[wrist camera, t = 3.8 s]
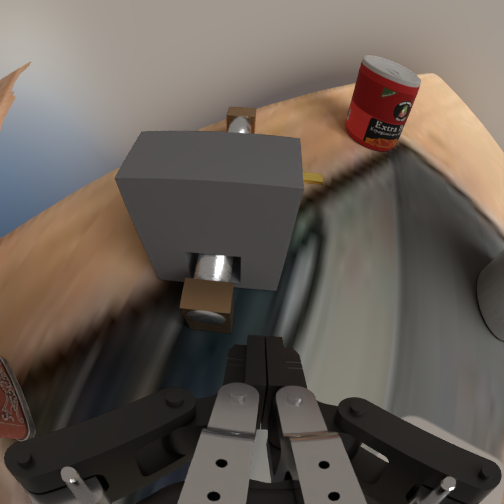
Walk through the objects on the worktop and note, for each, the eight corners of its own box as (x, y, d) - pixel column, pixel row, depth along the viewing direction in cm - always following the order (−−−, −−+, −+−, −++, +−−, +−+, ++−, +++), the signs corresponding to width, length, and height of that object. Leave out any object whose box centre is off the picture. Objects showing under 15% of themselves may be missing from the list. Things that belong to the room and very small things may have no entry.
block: (276, 290, 21) (303, 188, 12) (159, 279, 21) (114, 178, 12) (277, 246, 24) (299, 138, 15) (170, 237, 24) (141, 131, 15)
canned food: (365, 155, 32) (392, 79, 23) (333, 120, 36) (349, 51, 27) (405, 151, 34) (433, 86, 24) (373, 119, 38) (393, 58, 28)
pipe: (334, 339, 20) (354, 321, 16) (100, 313, 20) (75, 291, 16) (316, 145, 32) (323, 116, 29) (169, 134, 32) (164, 106, 29)
